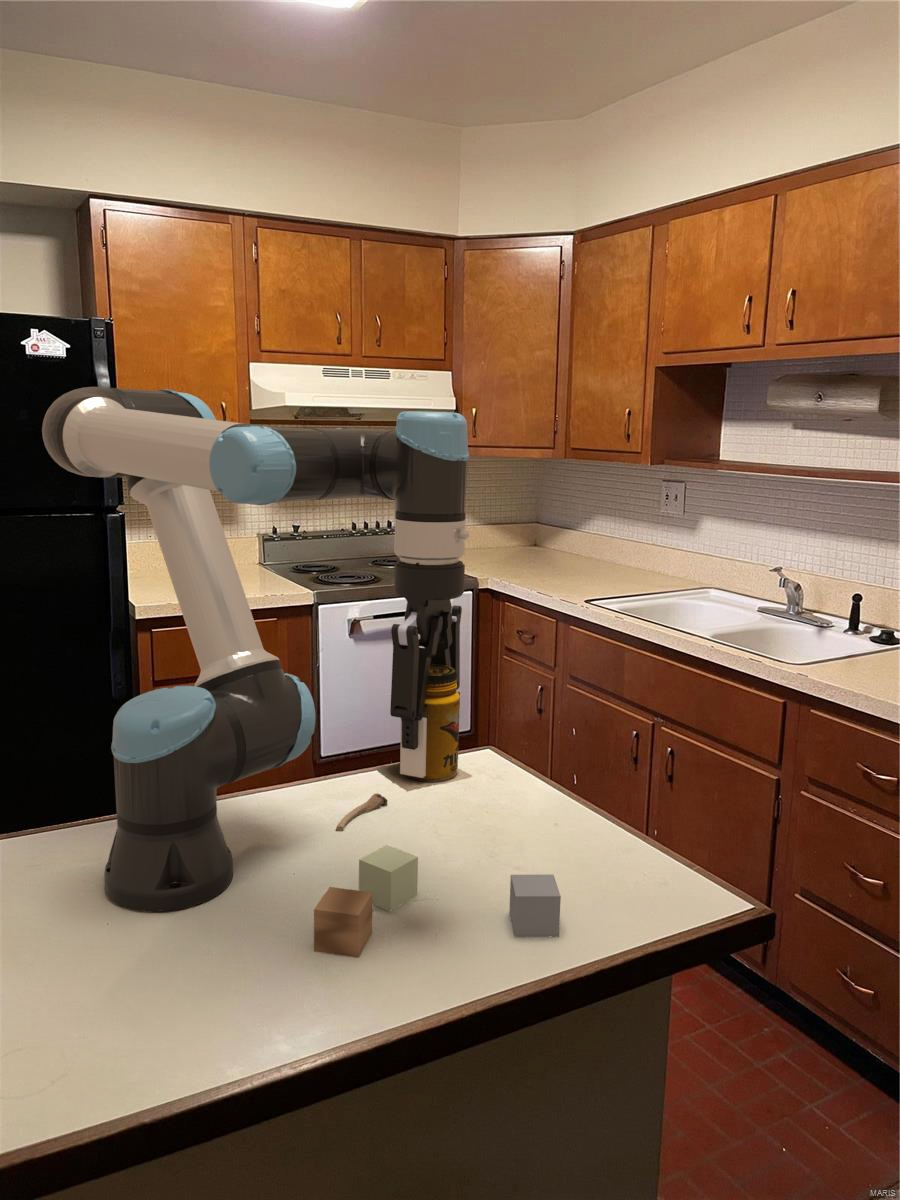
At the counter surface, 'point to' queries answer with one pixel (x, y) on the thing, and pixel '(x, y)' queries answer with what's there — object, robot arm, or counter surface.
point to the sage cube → (389, 876)
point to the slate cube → (534, 906)
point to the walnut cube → (343, 922)
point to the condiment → (436, 734)
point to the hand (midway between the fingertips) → (425, 764)
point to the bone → (363, 809)
